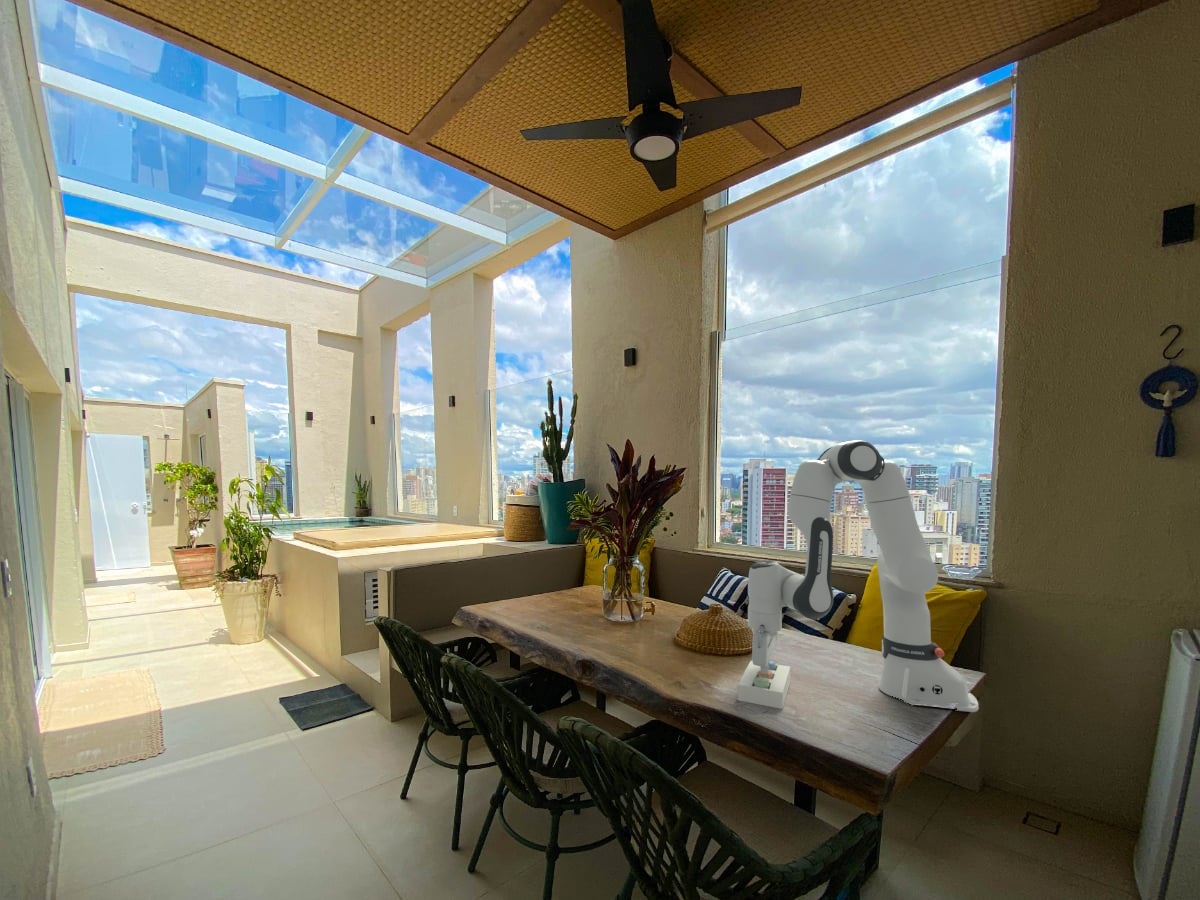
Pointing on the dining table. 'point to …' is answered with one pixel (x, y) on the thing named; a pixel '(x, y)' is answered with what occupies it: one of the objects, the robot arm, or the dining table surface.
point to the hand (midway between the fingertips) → (764, 672)
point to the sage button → (761, 682)
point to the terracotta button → (765, 675)
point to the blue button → (772, 665)
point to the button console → (762, 695)
